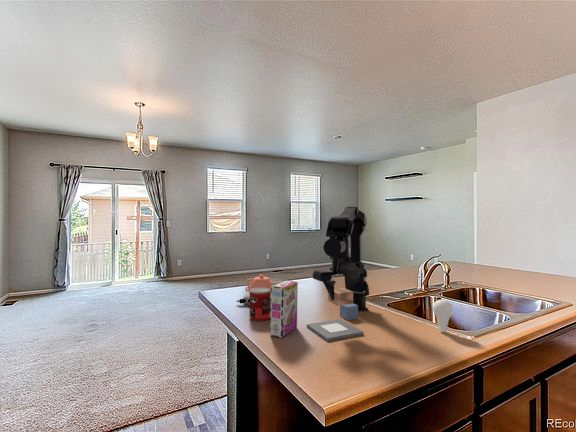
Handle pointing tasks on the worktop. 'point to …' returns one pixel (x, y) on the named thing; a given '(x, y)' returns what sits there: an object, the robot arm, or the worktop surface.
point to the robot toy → (247, 300)
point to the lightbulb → (442, 313)
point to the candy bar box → (283, 308)
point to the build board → (334, 330)
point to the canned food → (259, 304)
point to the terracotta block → (341, 297)
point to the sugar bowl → (260, 283)
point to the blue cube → (349, 311)
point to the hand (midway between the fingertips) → (340, 299)
